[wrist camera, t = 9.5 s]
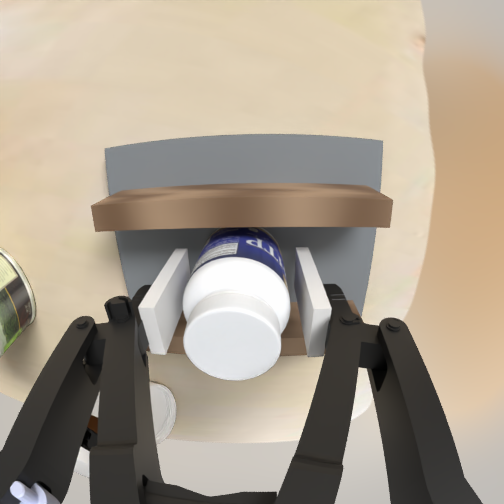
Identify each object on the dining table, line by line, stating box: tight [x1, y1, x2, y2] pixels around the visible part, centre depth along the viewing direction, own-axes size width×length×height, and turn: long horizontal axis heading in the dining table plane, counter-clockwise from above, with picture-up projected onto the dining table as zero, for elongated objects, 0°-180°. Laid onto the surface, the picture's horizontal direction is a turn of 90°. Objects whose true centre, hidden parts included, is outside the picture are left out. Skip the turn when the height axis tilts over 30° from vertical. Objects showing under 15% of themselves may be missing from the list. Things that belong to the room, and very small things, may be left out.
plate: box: [105, 134, 383, 316], centre depth 20 cm, size 18×16×1 cm
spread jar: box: [74, 382, 176, 478], centre depth 22 cm, size 12×11×12 cm
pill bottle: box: [183, 227, 290, 380], centre depth 15 cm, size 5×5×9 cm
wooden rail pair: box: [91, 183, 393, 356], centre depth 17 cm, size 16×10×4 cm, turn 91°
